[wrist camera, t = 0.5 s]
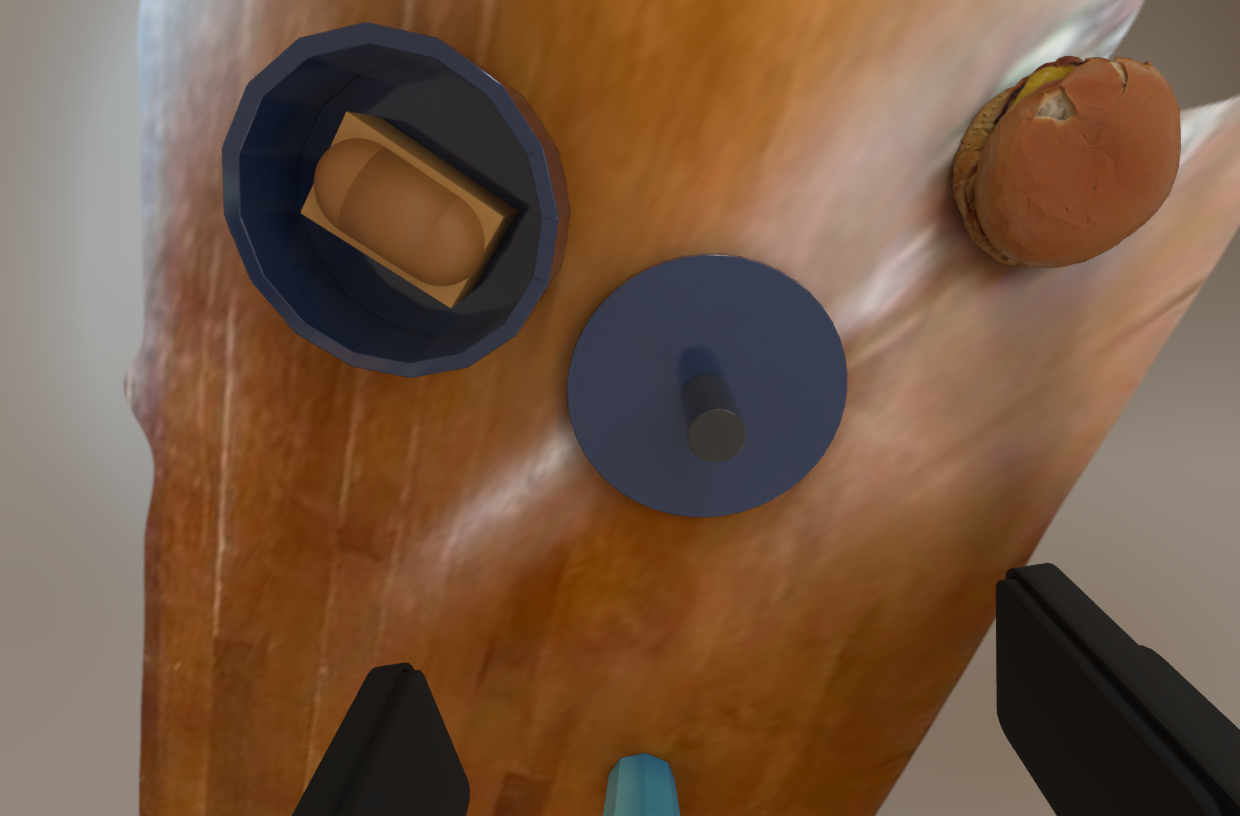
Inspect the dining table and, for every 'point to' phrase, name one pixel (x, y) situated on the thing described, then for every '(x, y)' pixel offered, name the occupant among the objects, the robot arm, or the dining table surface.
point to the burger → (1068, 161)
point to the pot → (439, 121)
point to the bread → (406, 208)
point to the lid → (707, 385)
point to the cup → (641, 788)
